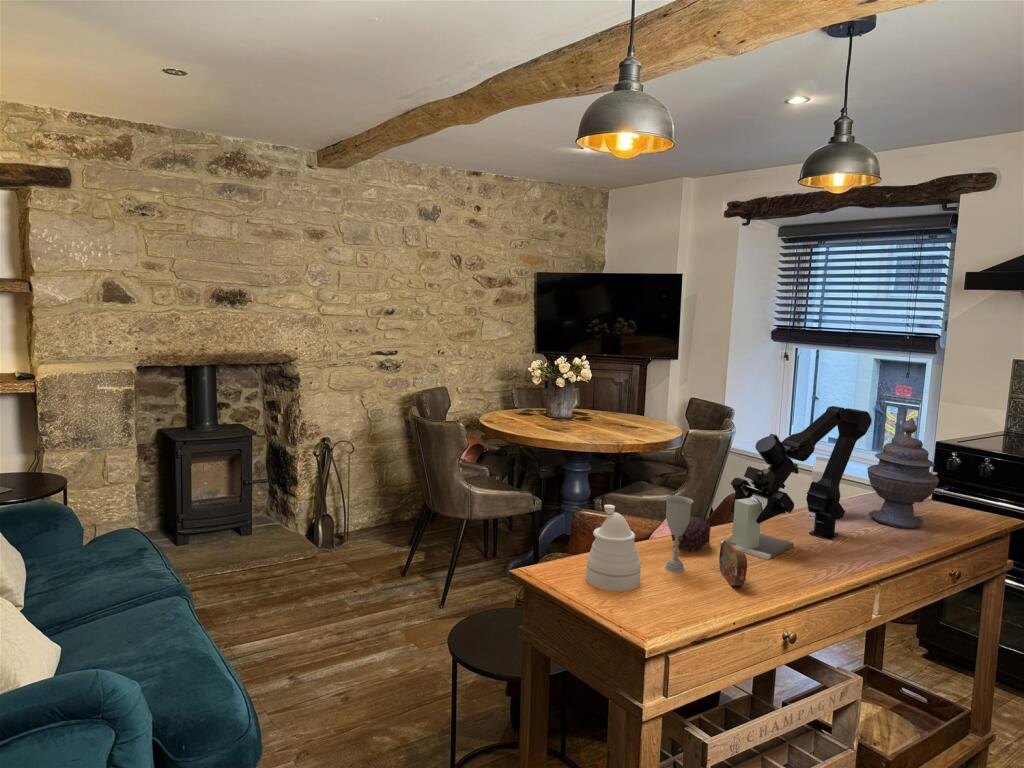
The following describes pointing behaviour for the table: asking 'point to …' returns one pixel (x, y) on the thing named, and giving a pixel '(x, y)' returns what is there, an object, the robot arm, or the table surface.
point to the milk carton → (818, 472)
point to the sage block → (746, 523)
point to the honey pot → (613, 555)
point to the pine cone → (694, 535)
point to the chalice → (677, 526)
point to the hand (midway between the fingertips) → (744, 517)
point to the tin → (733, 563)
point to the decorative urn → (902, 479)
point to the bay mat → (766, 546)
